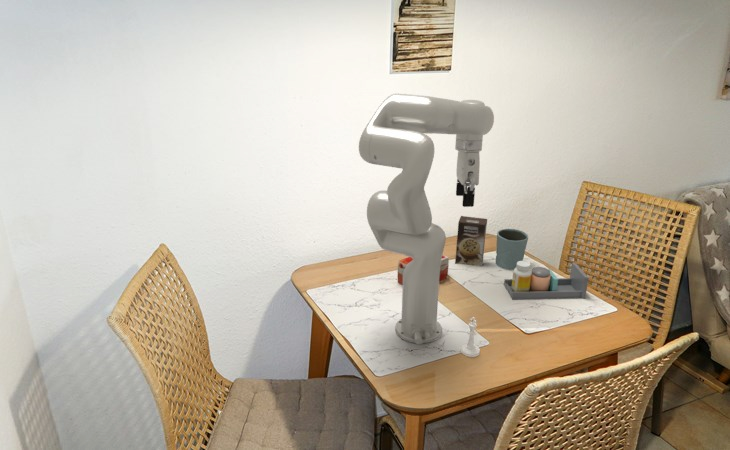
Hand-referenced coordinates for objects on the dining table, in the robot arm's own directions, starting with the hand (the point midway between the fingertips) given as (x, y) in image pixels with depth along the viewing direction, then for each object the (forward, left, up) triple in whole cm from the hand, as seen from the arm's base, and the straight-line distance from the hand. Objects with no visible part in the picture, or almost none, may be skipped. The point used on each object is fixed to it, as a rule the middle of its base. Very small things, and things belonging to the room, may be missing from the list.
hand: (464, 200), depth 166 cm
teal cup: (+12, -20, -28) cm, 37 cm away
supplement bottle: (-7, -18, -27) cm, 33 cm away
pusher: (-7, -27, -27) cm, 39 cm away
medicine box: (+3, +11, -29) cm, 31 cm away
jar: (-7, -23, -27) cm, 36 cm away
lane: (-7, -25, -28) cm, 38 cm away
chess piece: (-36, +4, -28) cm, 46 cm away
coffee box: (+15, -7, -28) cm, 33 cm away
